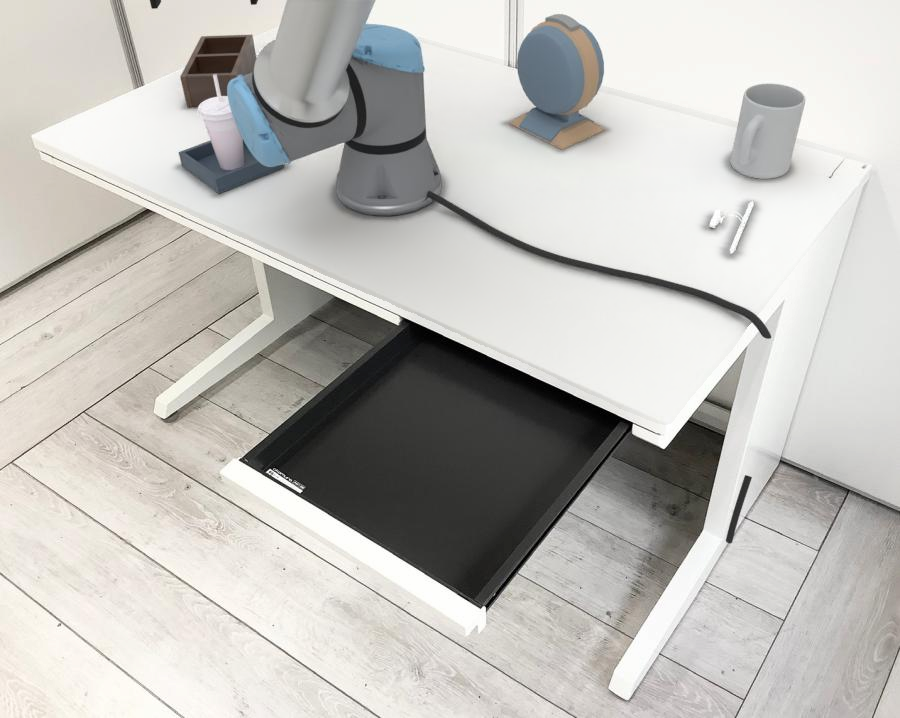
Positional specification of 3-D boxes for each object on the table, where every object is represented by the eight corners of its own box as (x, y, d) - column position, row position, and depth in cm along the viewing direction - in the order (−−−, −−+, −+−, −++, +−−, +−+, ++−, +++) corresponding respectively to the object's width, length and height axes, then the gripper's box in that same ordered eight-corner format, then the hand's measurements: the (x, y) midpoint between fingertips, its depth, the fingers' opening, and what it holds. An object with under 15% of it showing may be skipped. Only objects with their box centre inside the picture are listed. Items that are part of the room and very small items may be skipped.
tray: (284, 167, 136) (281, 153, 135) (218, 194, 131) (215, 179, 129) (245, 142, 143) (242, 128, 141) (181, 166, 138) (178, 152, 136)
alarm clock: (609, 132, 142) (620, 21, 131) (566, 151, 138) (574, 38, 126) (547, 103, 151) (552, -3, 139) (504, 121, 146) (506, 12, 135)
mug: (745, 146, 138) (759, 77, 130) (798, 162, 133) (816, 92, 126) (709, 177, 131) (722, 107, 123) (764, 195, 126) (780, 123, 119)
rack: (241, 105, 153) (236, 74, 150) (187, 107, 154) (179, 76, 150) (257, 63, 167) (252, 34, 163) (207, 65, 167) (200, 36, 164)
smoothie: (257, 154, 139) (241, 67, 130) (246, 175, 134) (229, 86, 125) (217, 153, 139) (198, 67, 130) (205, 174, 135) (184, 85, 125)
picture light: (733, 256, 115) (736, 242, 114) (699, 249, 117) (702, 235, 115) (754, 204, 125) (757, 191, 123) (723, 198, 126) (726, 185, 125)
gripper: (275, -183, 112) (298, -10, 126) (76, -175, 112) (122, -3, 126) (268, -171, 106) (293, 9, 120) (58, -163, 106) (108, 16, 120)
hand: (205, 3), depth 123 cm, fingers open, 13 cm apart
